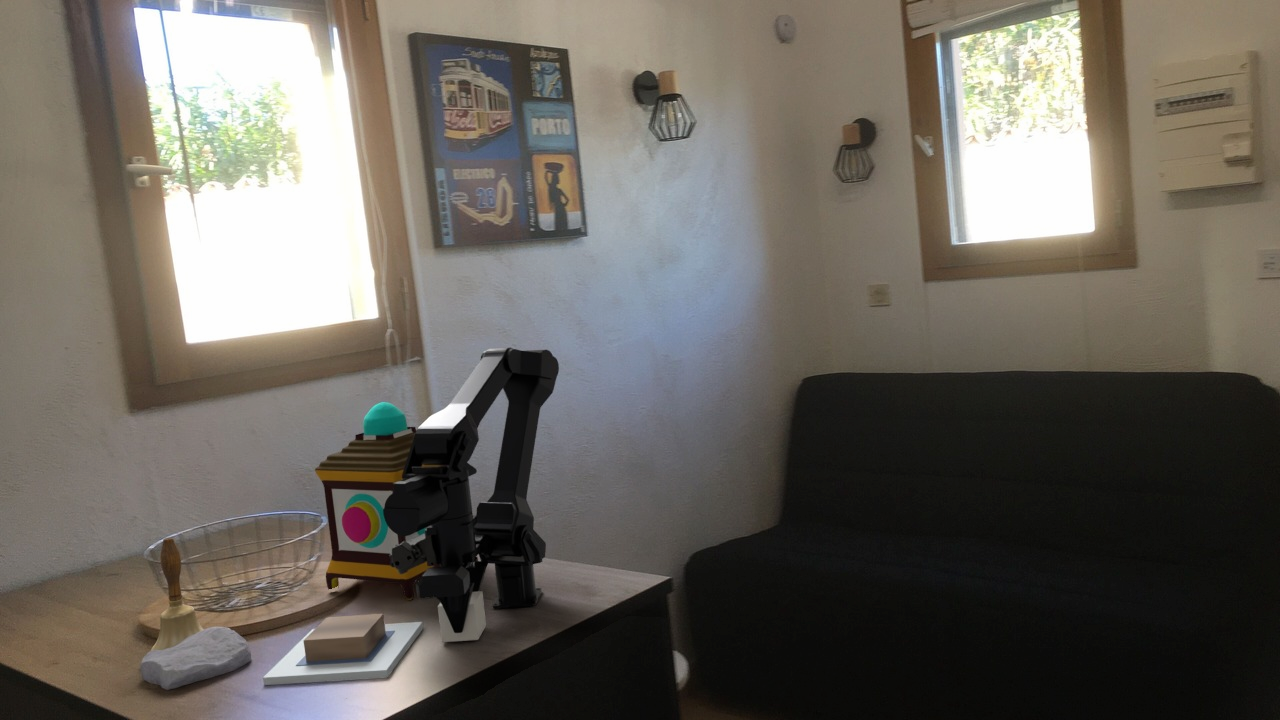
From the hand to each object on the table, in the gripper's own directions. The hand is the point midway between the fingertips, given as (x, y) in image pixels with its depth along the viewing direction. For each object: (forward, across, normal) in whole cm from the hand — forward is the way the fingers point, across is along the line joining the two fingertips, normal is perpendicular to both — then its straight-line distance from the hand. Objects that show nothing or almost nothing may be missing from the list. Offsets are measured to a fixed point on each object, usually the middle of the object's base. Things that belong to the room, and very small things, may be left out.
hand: (463, 624), depth 132 cm
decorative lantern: (+2, -27, -17) cm, 32 cm away
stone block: (+2, +6, -34) cm, 35 cm away
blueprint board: (+2, +4, -15) cm, 16 cm away
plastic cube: (+1, 0, 0) cm, 1 cm away
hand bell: (+2, -3, -42) cm, 42 cm away
